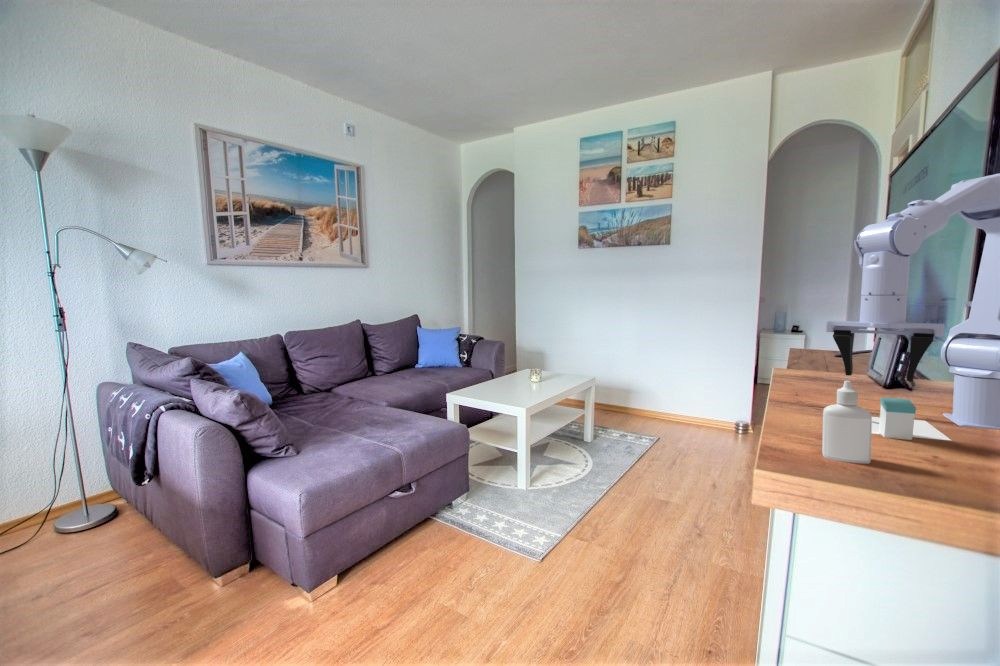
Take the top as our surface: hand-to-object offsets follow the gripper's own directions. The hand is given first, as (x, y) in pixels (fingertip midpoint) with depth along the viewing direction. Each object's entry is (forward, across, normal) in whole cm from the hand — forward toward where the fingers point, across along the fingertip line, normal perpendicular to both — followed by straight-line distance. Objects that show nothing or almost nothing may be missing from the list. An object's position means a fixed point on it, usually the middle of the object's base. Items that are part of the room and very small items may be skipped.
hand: (878, 377), depth 72 cm
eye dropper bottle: (+11, -2, -14) cm, 18 cm away
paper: (+10, +2, +9) cm, 14 cm away
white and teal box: (+10, +2, +3) cm, 11 cm away
